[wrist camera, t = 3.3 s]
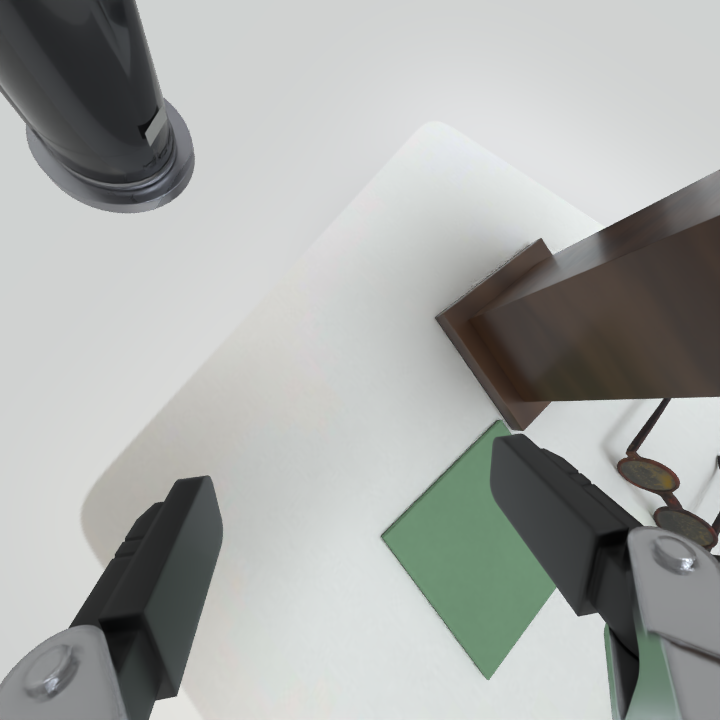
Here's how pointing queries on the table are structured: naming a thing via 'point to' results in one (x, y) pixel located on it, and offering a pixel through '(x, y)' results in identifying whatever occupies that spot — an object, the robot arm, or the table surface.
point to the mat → (471, 558)
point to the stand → (602, 313)
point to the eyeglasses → (666, 490)
